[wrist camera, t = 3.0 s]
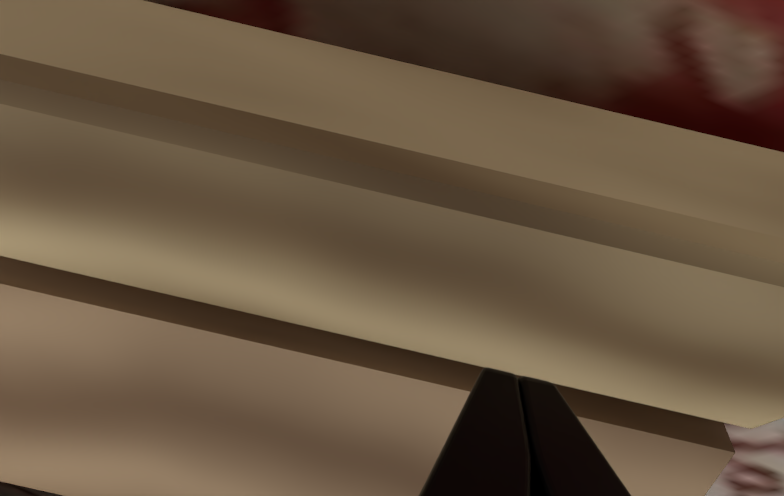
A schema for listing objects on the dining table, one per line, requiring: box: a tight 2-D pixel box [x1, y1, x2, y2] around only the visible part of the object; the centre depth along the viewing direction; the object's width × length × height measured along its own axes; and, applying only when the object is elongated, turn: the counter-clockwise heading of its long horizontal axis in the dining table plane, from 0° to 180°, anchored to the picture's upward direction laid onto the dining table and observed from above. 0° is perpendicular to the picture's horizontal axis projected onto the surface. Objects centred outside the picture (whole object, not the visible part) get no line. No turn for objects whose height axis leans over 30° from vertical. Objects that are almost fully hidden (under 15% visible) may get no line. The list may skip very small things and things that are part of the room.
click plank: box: [0, 0, 784, 429], centre depth 13 cm, size 8×20×2 cm, turn 79°
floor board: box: [0, 256, 735, 496], centre depth 19 cm, size 9×20×2 cm, turn 79°
